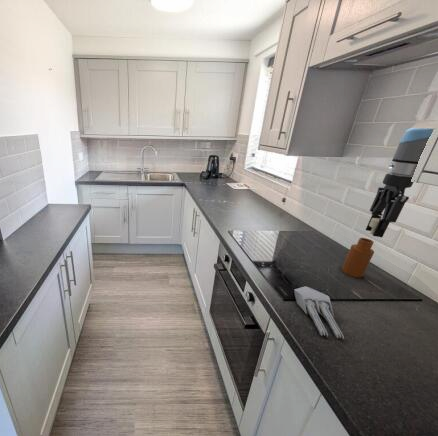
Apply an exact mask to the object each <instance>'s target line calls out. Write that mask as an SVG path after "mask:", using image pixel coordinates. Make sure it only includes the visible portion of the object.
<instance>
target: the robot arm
mask: <svg viewBox="0 0 438 436" xmlns="http://www.w3.org/2000/svg"><path fill="white" fill-rule="evenodd" d="M434 129H435V128H426V127H425V128H424V127H409V128H408V129H406V130H405V131H404V133H403V136H401V137H402V138H401V139H400V141H399V143H398V146H397V148H396V150H395V152H394V155H393V157H392V159H391V162H390V164H389V165H388V168H387V173H386V174H385V175H384V178H383V180H382V184H383V185H384V187H378V188H377V192H376V194H375V197H374V199H373V201H372V204H371V206H370V209H369V212H371V216H370V219H369V220H368V223H367V225H366V228H365V231H368V232H371V230H372V227H370V226H369V224H370V222H371V220H372V218H380V219H379V223H378V225H377V227H376V229H375V231H374V233H373V235H372V236H373V237H377V238H383V237H384V235H385V233H386V231H387V229H388V227H389V225H390V223H396V222H397V220H398V219H399V216H400V214H401V213H402V210H403V209H404V206H405V205H406V203H407V201H409V199H410V197H409V196H406V195H405V192H406V189H410V188H412V186H413V184H414V182H415V181H414V182H411V179H412V177H413V175H414V172H415V169H416V167H417V164H418V161H419V159H420V156H421V154H422V152H423V150H424V148H425V146H426V143H427V141H428V139H429V137H430V136H431V134H432V132H433V130H434Z"/></svg>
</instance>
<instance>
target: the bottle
mask: <svg viewBox="0 0 438 436" xmlns="http://www.w3.org/2000/svg"><path fill="white" fill-rule="evenodd" d="M374 242H375V241H374V240H372V239H371V238H370V239H369V238H367V237H359V239H358V240H357V243H356V244H355V243H354V244H351V246H350V248H349V250H348V253H347V255H346V258H345V260H344V262H343V264H342V267H341V271H342V272H343V273H344V274H346V275H349V276H351V277H354V278H362V277H363V276H364V274H365V272H366V271H367V268H368V266H369V265H370V262H371V260H372V258H373V256H374V254H375V250H373V249H372V247H373V245H374Z"/></svg>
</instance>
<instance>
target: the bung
mask: <svg viewBox="0 0 438 436" xmlns="http://www.w3.org/2000/svg"><path fill="white" fill-rule="evenodd" d="M379 219H380V218H372V220H371V222H370V224H369V226H370V227H372V230H371V231H369V234H371V235H372V236H373V233H374V231H375V229H376V227H377V225H378V223H379Z"/></svg>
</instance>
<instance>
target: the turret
mask: <svg viewBox="0 0 438 436" xmlns="http://www.w3.org/2000/svg"><path fill="white" fill-rule="evenodd" d="M293 290H294V291H293V292H294V297H295V301H296V304H297V305H298V306H299V308H300V309H302V311H303V312H304V313H305V315H309V317H310V318H311V320H312V321H313V323H314V325H315V327H316V329H317V332H318V333H319V335H320V336H321V337H327V338H329V333H328V331H327V329H326V327H325V325H324V324H323V321H322V320H321V318H320V315H321V317H322V318H324V320H325V321H326V323H327V324H328V326H329V328H330V329H331V332H332V334H333V335H334V336H335V338H336V339H342V340H345V337H344V334H343V332H342V331H341V329H340V327H339V325H338V324H337V322H336V320H335V314H334V311H333V306H332V303H331V298H330V296H329V295H327V294H325V293H324V292H321V291H318V290H316V289H314V288H312V287H308V286H307V285H305V286H302V287H298V288H295V289H293ZM319 314H320V315H319Z"/></svg>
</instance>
